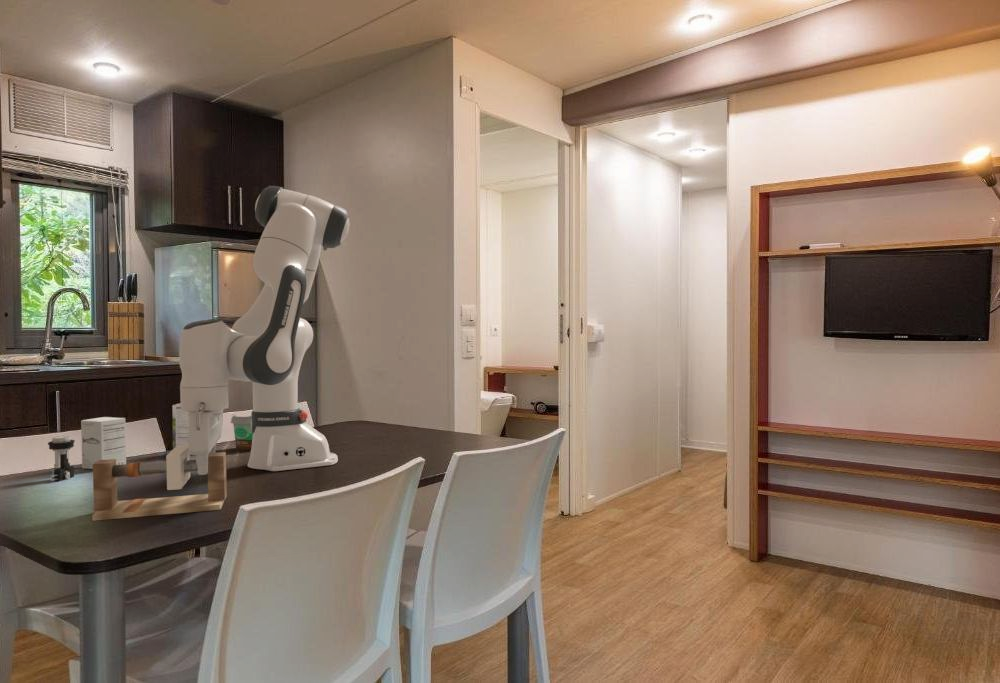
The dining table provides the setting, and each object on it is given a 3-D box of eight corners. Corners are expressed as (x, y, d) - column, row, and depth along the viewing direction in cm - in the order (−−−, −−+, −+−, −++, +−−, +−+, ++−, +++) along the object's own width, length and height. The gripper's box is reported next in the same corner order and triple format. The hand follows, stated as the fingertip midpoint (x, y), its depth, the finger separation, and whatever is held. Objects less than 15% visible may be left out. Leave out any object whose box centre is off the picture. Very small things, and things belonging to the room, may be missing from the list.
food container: (222, 451, 192) (221, 416, 192) (234, 447, 198) (233, 414, 198) (262, 451, 190) (261, 417, 190) (272, 448, 196) (272, 414, 196)
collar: (190, 476, 137) (189, 445, 137) (180, 489, 126) (180, 454, 126) (177, 477, 136) (176, 446, 136) (167, 490, 126) (166, 455, 126)
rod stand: (228, 497, 139) (227, 449, 138) (222, 509, 129) (221, 458, 129) (104, 507, 132) (103, 457, 132) (89, 520, 123) (87, 467, 122)
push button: (61, 482, 154) (60, 440, 154) (39, 483, 155) (38, 440, 154) (80, 476, 161) (79, 435, 161) (59, 476, 161) (58, 435, 161)
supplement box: (81, 469, 170) (79, 420, 170) (107, 463, 177) (106, 416, 176) (101, 470, 167) (100, 421, 167) (127, 465, 174) (126, 417, 174)
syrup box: (182, 452, 192) (181, 402, 191) (202, 451, 191) (201, 401, 191) (172, 456, 186) (171, 404, 186) (193, 455, 186) (191, 404, 185)
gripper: (215, 405, 123) (217, 479, 124) (227, 395, 143) (228, 458, 143) (178, 407, 122) (180, 481, 122) (195, 396, 141) (196, 461, 141)
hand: (206, 469), depth 133 cm, fingers open, 8 cm apart
